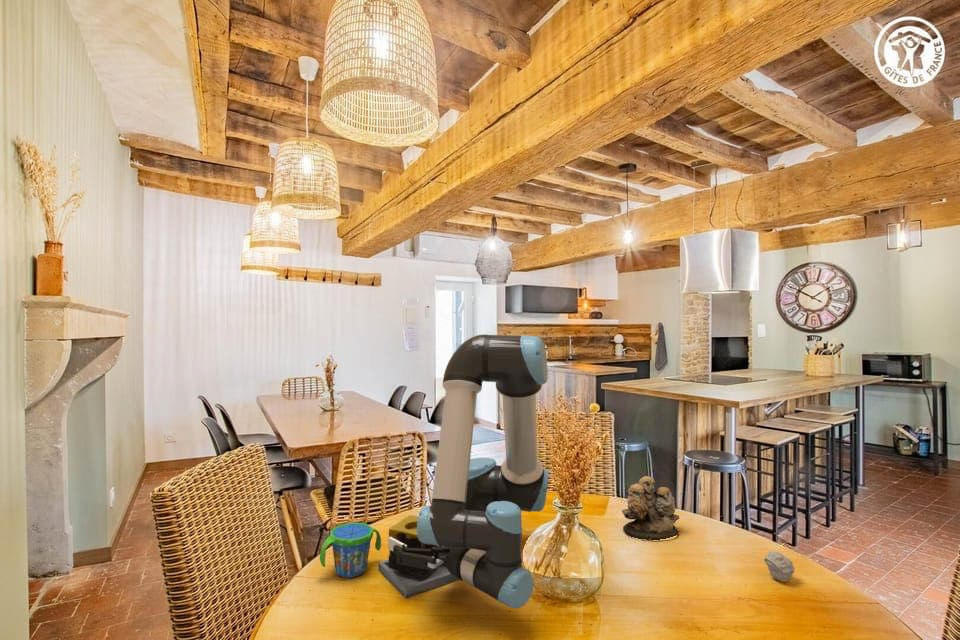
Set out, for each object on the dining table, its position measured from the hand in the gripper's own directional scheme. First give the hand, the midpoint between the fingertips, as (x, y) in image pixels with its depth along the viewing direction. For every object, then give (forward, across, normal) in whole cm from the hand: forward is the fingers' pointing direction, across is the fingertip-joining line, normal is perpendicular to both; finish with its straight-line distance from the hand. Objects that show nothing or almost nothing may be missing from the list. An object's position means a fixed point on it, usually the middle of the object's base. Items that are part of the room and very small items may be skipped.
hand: (411, 534), depth 121 cm
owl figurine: (-33, +66, -9) cm, 74 cm away
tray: (-3, 0, -9) cm, 10 cm away
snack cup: (+10, -11, -9) cm, 18 cm away
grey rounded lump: (-68, +63, -9) cm, 93 cm away
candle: (-2, 0, -7) cm, 7 cm away
